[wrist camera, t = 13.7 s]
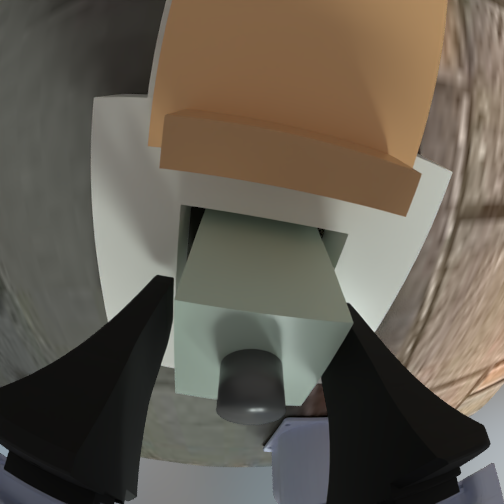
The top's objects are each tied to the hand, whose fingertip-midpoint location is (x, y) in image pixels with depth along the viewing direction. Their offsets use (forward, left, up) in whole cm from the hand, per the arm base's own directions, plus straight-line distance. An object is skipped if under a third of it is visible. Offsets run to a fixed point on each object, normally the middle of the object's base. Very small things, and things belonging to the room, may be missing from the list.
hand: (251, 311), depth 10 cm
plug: (0, 0, -4) cm, 4 cm away
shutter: (+9, 0, -1) cm, 9 cm away
